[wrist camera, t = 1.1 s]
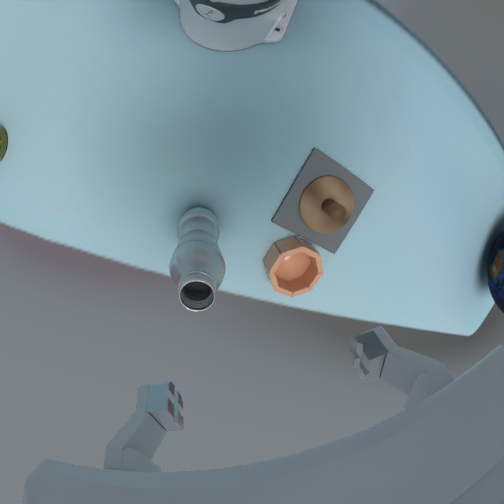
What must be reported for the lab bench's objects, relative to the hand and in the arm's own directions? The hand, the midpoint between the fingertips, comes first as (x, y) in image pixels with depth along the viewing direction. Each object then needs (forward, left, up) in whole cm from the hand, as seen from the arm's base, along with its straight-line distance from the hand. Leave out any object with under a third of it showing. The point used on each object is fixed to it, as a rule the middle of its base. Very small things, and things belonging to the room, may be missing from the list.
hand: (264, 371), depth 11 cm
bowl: (+6, +17, -34) cm, 38 cm away
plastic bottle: (+6, 0, -34) cm, 35 cm away
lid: (-6, +17, -33) cm, 38 cm away
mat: (-6, +17, -34) cm, 39 cm away
